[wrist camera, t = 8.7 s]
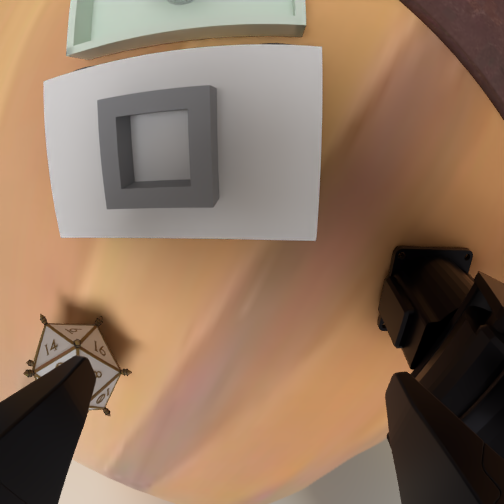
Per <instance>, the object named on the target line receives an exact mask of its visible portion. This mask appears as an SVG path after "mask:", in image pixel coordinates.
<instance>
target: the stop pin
mask: <svg viewBox="0 0 504 504" xmlns="http://www.w3.org/2000/svg"><path fill="white" fill-rule="evenodd" d="M167 1H168V2H169V3H171V4H174V5H185V4H188V3H191V2H193V1H194V0H167Z"/></svg>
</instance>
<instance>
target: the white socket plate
mask: <svg viewBox="0 0 504 504" xmlns="http://www.w3.org/2000/svg"><path fill="white" fill-rule="evenodd" d="M44 119H45V135H46V147H47V157H48V166H49V174H50V181H51V188H52V194H53V200H54V206H55V212H56V217H57V222H58V227H59V232H60V236H61V238H192V239H254V240H300V241H316V236H317V222H318V207H319V190H320V170H321V143H322V47H319V46H304V45H290V44H279V43H267V44H252V45H225V46H211V47H199V48H189V49H181V50H173V51H166V52H159V53H153V54H147V55H141V56H136V57H131V58H126V59H121V60H117V61H112V62H108V63H104V64H100V65H95V66H90V67H85V68H81V69H78V70H75V71H73V72H71V73H67V74H64V75H61V76H58V77H55V78H52V79H49V80H46V81H44Z"/></svg>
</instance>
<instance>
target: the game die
mask: <svg viewBox="0 0 504 504" xmlns="http://www.w3.org/2000/svg"><path fill="white" fill-rule="evenodd" d="M40 320H41V321H42V323H43V324H44V328H43V332H42V335H41V338H40V341H39V344H38V348H37V351H36V355H35V358H34V362H33V361H32V360H29V361H28V362H26V363H27V364H28V366H33V369H32V370H26V371H25V372H24V373H23V374H24V375H26V376H27V377H32V376H34V378H35V379H36V380H37V379H38V378H40V377H41V376H43V375H44V374H46V373H48V372H49V371H51V370H52V369H54V368H56V367H57V366H59V365H60V364H62V363H64V362H65V361H67V360H68V359H70V358H72V357H73V356H75V355H80V356H85V357H87V358H88V359H89V361H90V363H91V365H92V368H93V370H94V372H95V375H96V384H95V387H94V391H93V394H92V398H91V402H90V406H89V409H88V410H103V412H104V413H105V415H108V416H110V411H109V410H108V409H107V408H106V405H107V402H108V400H109V398H110V396H111V394H112V392H113V390H114V388H115V385H116V383H117V381H118V379H119V377H120V375H121V374H123V375H124V376H125V375H127V376H128V375H129V374H131V373H132V372H131V371H129V370H128V369H123V370H121V369H120V367H119V365H118V363H117V361H116V360H115V358H114V356H113V354H112V352H111V350H110V349H109V347H108V345H107V343H106V341H105V339H104V337H103V335H102V333H101V331H100V329H99V325H101V323H102V316H101V317H99V318H97V320H96V323H95V325H88V324H54V323H47V319H46V318H45V317H44V316H43V315H42V314H40ZM88 412H89V411H88Z"/></svg>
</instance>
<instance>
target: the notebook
mask: <svg viewBox="0 0 504 504" xmlns="http://www.w3.org/2000/svg"><path fill="white" fill-rule="evenodd" d="M399 1H401V2H402V3H403V4H404V5H405V6H406V7H407V8H409V9H410V10H411V11H412V12H413V13H414V14H415V15H416V16H417V17H418V18H419V19H420V20H422V21H423V22H424V23H425V24H426V25H427V26H428V27H429V28H430V29H431V30H432V31H433V32H434V33H435V34H436V35H437V36H438V37H439V38H440V40H441V41H442V42H443V43H444V44H445V45H446V46H447V47H448V48H449V49H450V50H451V51H452V53H453V54H454V55H455V56H456V57H457V58H458V59H459V61H460V62H461V63H462V64H463V65H464V66H465V68H466V69H467V70H468V71H469V73H470V74H471V75H472V76H473V78H474V79H475V80H476V81H477V83H478V84H479V85H480V87H481V88H482V89H483V91H484V92H485V93H486V95H487V96H488V98H489V99H490V100H491V102H492V103H493V105H494V106H495V108H496V109H497V110H498V112H499V113H500V115H501V116H502V118H503V120H504V0H399Z"/></svg>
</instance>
